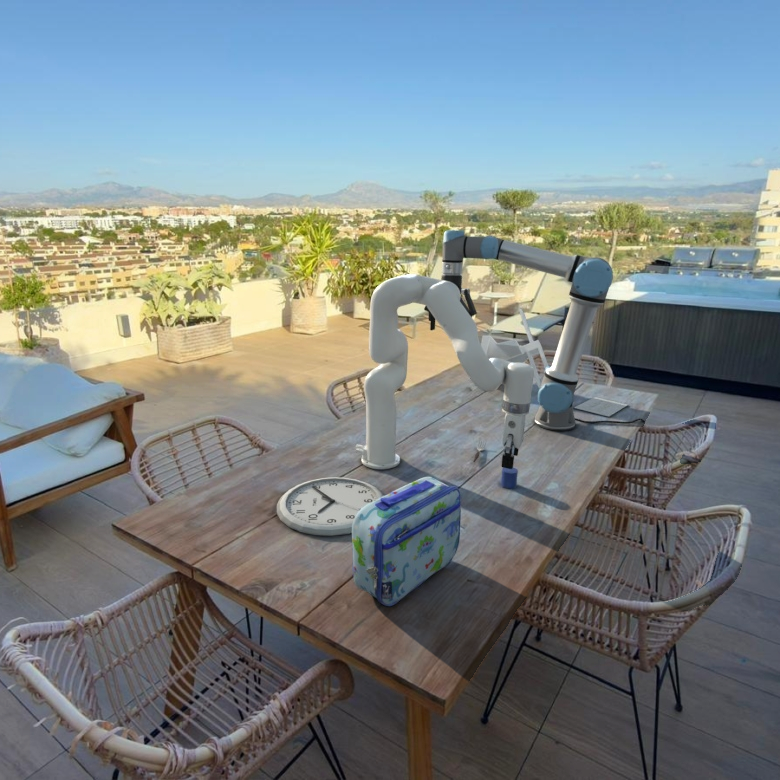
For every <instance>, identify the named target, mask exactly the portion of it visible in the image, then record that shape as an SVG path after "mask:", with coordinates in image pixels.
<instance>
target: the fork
mask: <svg viewBox="0 0 780 780" xmlns="http://www.w3.org/2000/svg"><path fill="white" fill-rule="evenodd" d="M486 444H487V441H483V440H479V441H478V444H477V448H476V450H477V452H476V454H475V455H474V458H473V463H475V462H476V461H477V459H478V458H479V456H480V453H481V452H483V451H485V449H486V446H487V445H486Z"/></svg>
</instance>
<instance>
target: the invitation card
mask: <svg viewBox="0 0 780 780" xmlns="http://www.w3.org/2000/svg"><path fill="white" fill-rule="evenodd" d="M628 406H629V404H627V403H623V402H618V401H614V400H609V399H605V398H601V397H596V396H593V397H592V398H590V399H588V400H586V401H584V402H582V403H580V404H578V405H575V406H574V407H573V409H575V410H581V411H584V412H587V413H593V414H596V415H600V416H604V417H608V418H609V417H611V416H613V415H614V414H616V413H617V412H619V411H621V410H623V409H624V408H626V407H628Z"/></svg>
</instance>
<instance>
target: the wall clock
mask: <svg viewBox="0 0 780 780" xmlns="http://www.w3.org/2000/svg"><path fill="white" fill-rule="evenodd" d="M383 496H385V494H384V493H383V492H382V491H381V490H380V489H379V488H377V487H376V486H374V485H372V484H371V483H369V482H365V481H362V480H359V479H355V478H349V477H338V476H337V477H335V476H333V477H332V476H331V477H322V478H317V479H312V480H307V481H305V482H302V483H299V484H297V485H295V486H293V487H292V488H290V489H288V490H287V491H286V492H285V493H284V494H283V495H281V496H280V498H279V499H278V502H277V503H276V515H277V517H278V518H279V520H280V521H281V522H282V523H283V524H285V525H286V526H287V527H288V528H290V529H293V530H295V531H297V532H299V533H303V534H308V535H312V536H327V537H328V536H329V537H331V536H332V537H333V536H342V535H350V534H352V526H353V521H354V518H355V516H356V515H357V513H358V512H359V510H360V509H361V508H362V507H364V506H365V505H367V504H369V503H371V502H373V501H375V500H377V499H379V498H381V497H383Z"/></svg>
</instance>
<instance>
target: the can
mask: <svg viewBox="0 0 780 780" xmlns="http://www.w3.org/2000/svg"><path fill="white" fill-rule="evenodd" d="M518 471H519V470H518V468H516V467H513V469H508V468H503V467H502V469H501V478H500V486H501V487H502V488H505V489H515V488H516V487H517V483H518Z"/></svg>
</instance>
